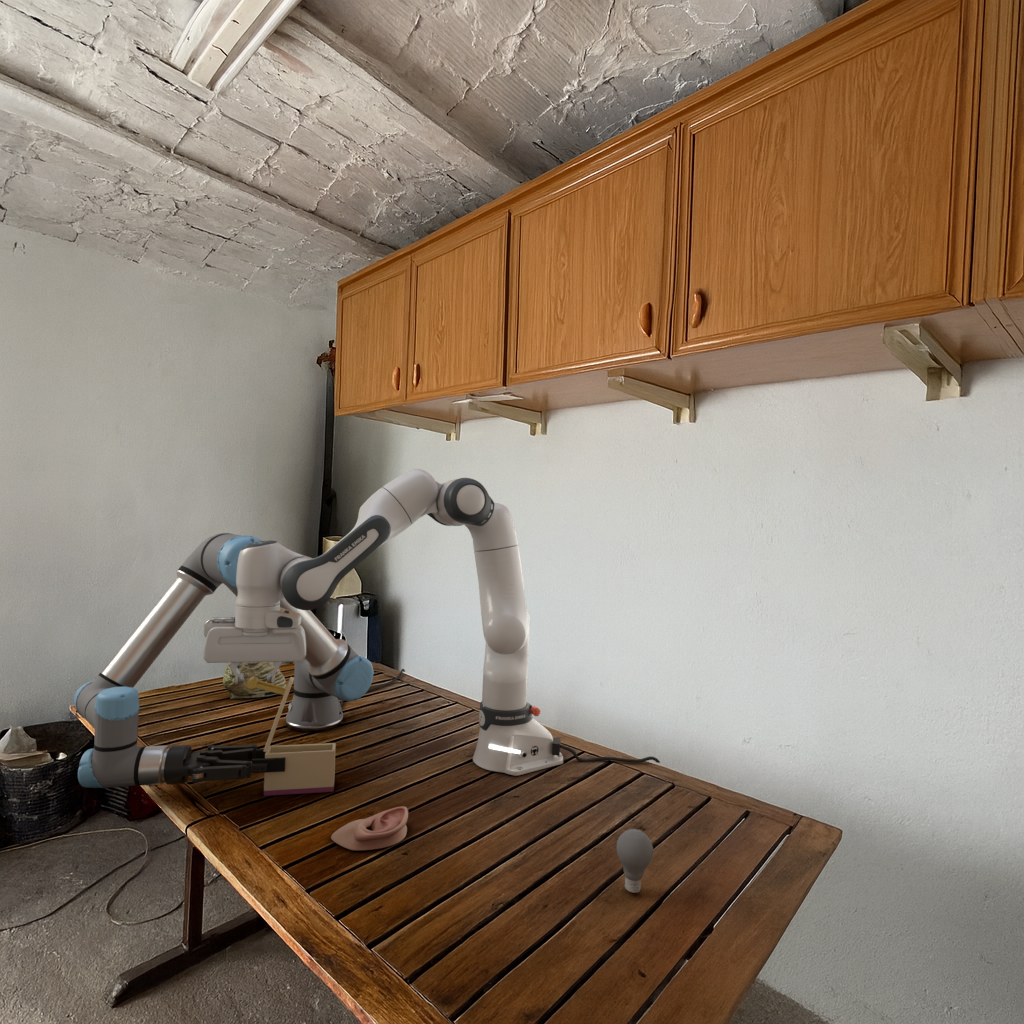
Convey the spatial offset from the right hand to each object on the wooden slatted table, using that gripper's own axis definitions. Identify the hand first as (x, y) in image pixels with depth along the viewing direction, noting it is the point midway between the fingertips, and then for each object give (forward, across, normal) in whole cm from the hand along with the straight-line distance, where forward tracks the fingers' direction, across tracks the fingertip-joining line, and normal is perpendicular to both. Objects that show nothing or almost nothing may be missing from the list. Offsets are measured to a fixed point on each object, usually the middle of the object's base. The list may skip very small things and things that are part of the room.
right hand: (255, 682), depth 134 cm
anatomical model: (+24, +24, -22) cm, 40 cm away
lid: (+7, +5, 0) cm, 9 cm away
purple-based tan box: (+24, +10, 0) cm, 25 cm away
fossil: (+23, -10, +67) cm, 72 cm away
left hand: (+17, +7, 0) cm, 18 cm away
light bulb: (+24, +67, -46) cm, 84 cm away
